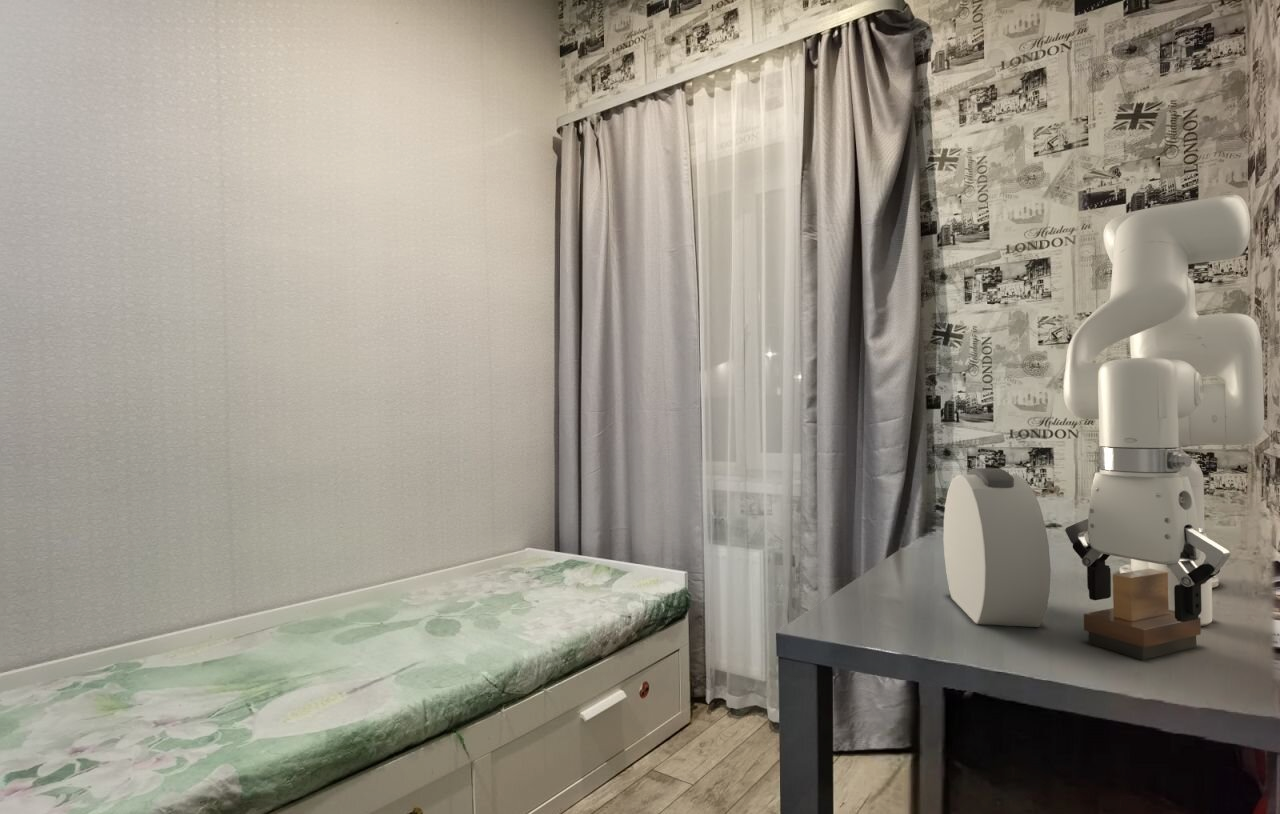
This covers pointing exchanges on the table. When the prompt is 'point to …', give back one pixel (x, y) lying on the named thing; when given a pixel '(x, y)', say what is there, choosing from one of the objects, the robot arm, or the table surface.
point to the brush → (1141, 618)
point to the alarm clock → (996, 549)
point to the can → (1205, 588)
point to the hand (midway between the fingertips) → (1141, 608)
